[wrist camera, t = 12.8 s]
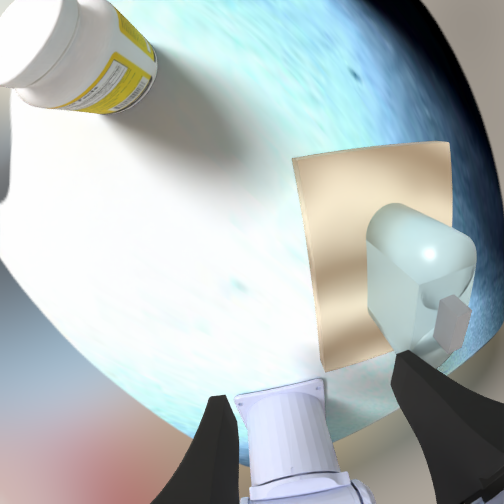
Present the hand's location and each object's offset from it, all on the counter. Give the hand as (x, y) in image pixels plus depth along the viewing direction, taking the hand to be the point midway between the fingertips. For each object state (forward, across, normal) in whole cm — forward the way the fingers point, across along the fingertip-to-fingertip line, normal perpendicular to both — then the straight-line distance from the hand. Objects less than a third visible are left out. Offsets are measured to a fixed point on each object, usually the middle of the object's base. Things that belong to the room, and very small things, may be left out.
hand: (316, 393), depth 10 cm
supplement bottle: (+10, +7, -16) cm, 20 cm away
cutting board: (+9, -8, 0) cm, 12 cm away
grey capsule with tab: (+8, -8, 0) cm, 11 cm away
